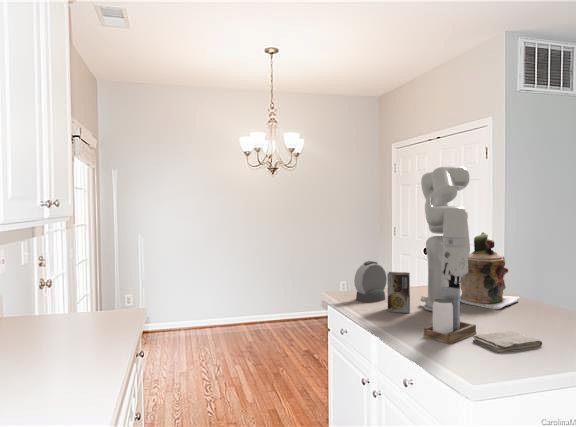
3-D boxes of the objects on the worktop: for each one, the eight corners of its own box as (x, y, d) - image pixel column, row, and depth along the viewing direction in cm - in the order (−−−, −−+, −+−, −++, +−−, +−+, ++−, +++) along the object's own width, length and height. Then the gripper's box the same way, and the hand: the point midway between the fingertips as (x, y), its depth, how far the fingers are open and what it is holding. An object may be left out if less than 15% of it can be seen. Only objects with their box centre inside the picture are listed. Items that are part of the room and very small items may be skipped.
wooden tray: (423, 336, 142) (423, 327, 142) (449, 326, 153) (449, 318, 152) (450, 344, 134) (450, 335, 134) (476, 333, 145) (476, 325, 145)
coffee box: (410, 309, 177) (410, 272, 177) (409, 313, 171) (409, 274, 171) (388, 308, 180) (388, 271, 180) (387, 311, 174) (387, 273, 174)
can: (454, 339, 137) (454, 303, 137) (434, 338, 138) (434, 302, 138) (451, 333, 143) (451, 298, 143) (431, 332, 145) (431, 298, 144)
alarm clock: (376, 295, 205) (376, 258, 205) (390, 299, 196) (391, 261, 196) (350, 299, 197) (350, 261, 196) (364, 303, 188) (364, 263, 188)
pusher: (439, 331, 145) (439, 285, 145) (441, 330, 146) (441, 285, 146) (457, 335, 140) (458, 288, 140) (459, 335, 141) (460, 288, 140)
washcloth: (470, 342, 137) (470, 333, 137) (511, 336, 143) (511, 327, 143) (499, 355, 126) (499, 345, 125) (543, 348, 132) (543, 338, 131)
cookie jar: (444, 301, 193) (445, 232, 192) (468, 293, 210) (468, 230, 209) (500, 311, 175) (501, 235, 174) (521, 301, 192) (521, 232, 191)
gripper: (453, 244, 136) (453, 300, 137) (475, 241, 146) (475, 293, 146) (433, 243, 142) (432, 296, 142) (455, 240, 151) (455, 290, 152)
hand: (454, 294), depth 144 cm, fingers closed
